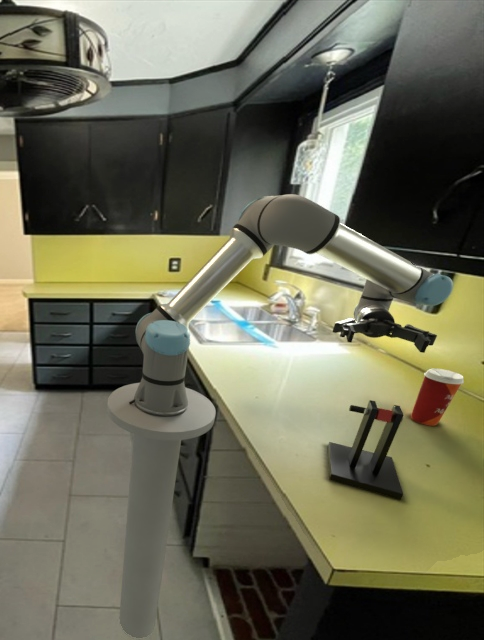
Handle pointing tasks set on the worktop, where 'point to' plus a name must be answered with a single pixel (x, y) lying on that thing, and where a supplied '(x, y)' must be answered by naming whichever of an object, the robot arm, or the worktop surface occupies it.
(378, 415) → the lever
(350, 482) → the bracket
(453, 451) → the worktop surface
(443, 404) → the paper cup
